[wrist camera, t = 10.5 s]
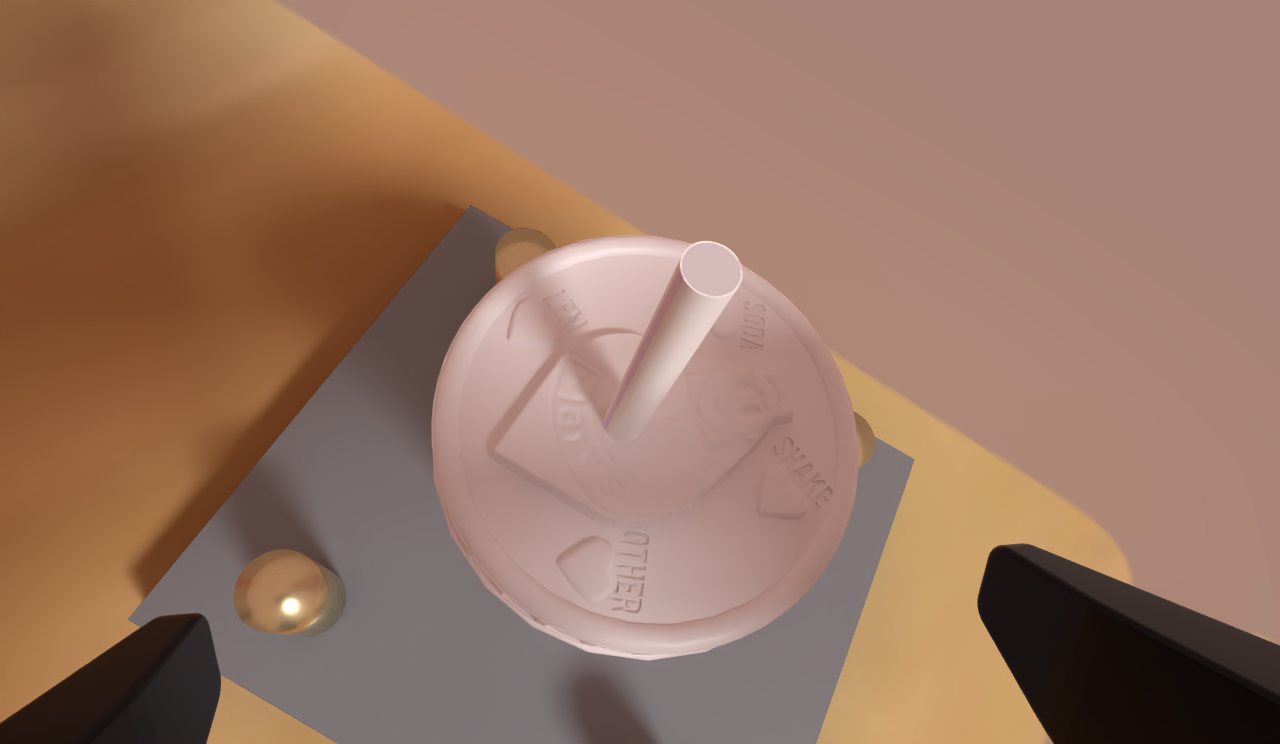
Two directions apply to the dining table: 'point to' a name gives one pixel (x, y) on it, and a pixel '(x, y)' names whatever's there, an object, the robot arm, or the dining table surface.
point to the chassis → (470, 573)
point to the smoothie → (643, 446)
